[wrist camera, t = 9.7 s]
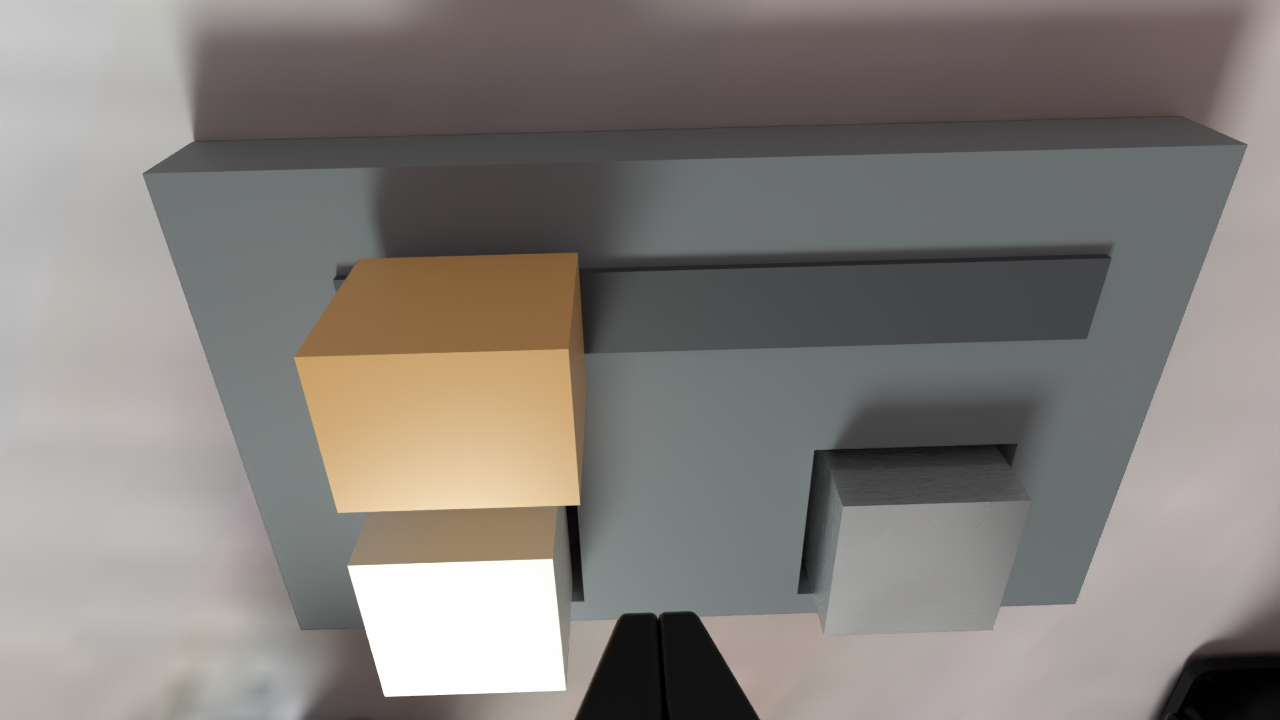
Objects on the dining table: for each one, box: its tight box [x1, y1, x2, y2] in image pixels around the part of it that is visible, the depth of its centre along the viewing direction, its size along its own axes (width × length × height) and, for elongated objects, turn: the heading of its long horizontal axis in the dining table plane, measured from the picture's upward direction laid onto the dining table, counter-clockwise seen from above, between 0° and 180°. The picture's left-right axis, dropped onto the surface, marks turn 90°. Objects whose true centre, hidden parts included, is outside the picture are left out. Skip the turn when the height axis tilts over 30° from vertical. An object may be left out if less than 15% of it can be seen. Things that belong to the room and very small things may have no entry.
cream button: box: [347, 506, 573, 697], centre depth 18 cm, size 4×4×3 cm
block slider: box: [294, 253, 586, 513], centre depth 14 cm, size 4×3×4 cm
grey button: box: [802, 444, 1032, 636], centre depth 19 cm, size 4×4×3 cm
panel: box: [143, 116, 1247, 630], centre depth 18 cm, size 20×12×2 cm, turn 91°
